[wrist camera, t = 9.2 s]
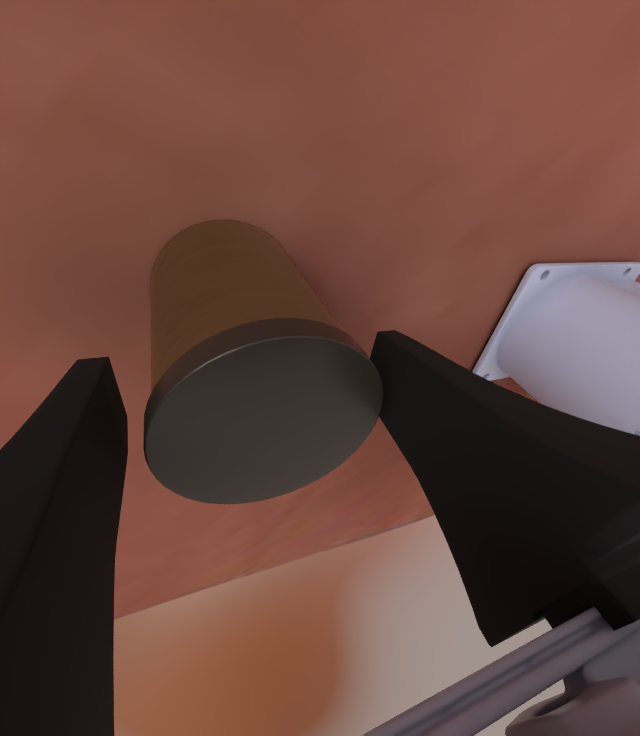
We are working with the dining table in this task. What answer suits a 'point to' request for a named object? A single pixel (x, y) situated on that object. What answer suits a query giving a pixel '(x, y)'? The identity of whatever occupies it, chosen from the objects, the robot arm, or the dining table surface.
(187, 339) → the tea tin
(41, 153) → the dining table surface
